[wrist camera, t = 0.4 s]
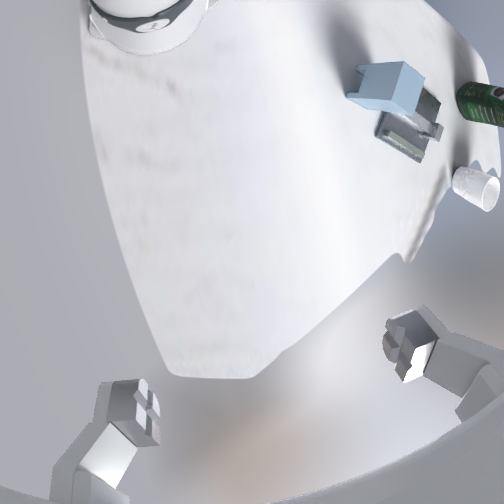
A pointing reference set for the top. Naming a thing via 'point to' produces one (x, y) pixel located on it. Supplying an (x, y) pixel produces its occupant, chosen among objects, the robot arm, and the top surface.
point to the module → (389, 87)
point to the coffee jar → (482, 103)
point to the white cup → (476, 187)
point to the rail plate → (412, 127)
